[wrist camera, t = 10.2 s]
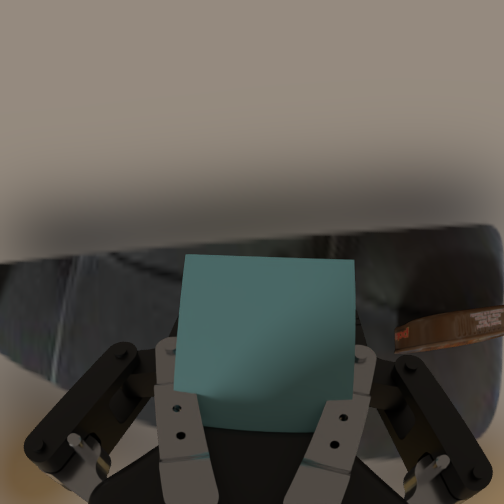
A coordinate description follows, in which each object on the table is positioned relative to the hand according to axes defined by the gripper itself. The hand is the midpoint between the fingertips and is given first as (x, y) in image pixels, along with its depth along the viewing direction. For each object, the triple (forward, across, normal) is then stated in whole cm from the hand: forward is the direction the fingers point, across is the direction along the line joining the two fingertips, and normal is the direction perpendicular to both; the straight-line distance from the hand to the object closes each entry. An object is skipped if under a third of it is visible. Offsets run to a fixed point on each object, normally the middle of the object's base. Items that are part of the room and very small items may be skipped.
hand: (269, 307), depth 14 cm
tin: (+10, -18, +11) cm, 24 cm away
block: (+2, 0, +4) cm, 5 cm away
